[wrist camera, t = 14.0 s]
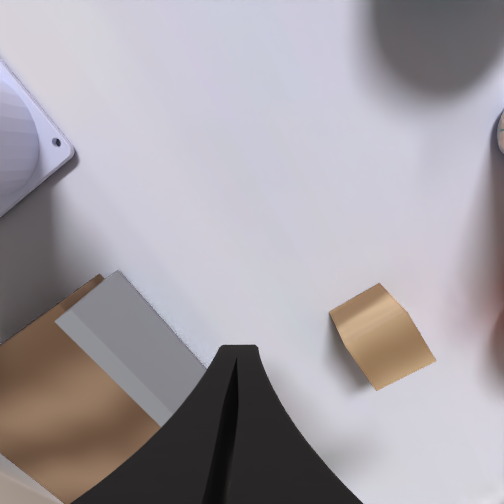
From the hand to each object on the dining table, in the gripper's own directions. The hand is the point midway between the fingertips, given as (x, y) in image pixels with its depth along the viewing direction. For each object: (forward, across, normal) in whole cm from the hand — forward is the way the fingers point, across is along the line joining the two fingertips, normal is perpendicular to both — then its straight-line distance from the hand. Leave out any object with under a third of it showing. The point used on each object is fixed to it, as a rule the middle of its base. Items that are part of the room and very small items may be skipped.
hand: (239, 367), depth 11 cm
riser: (+10, -9, +4) cm, 14 cm away
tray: (+10, +10, +9) cm, 16 cm away
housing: (+10, +11, +9) cm, 17 cm away
